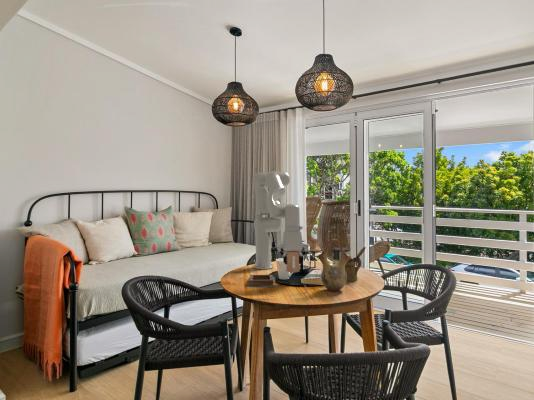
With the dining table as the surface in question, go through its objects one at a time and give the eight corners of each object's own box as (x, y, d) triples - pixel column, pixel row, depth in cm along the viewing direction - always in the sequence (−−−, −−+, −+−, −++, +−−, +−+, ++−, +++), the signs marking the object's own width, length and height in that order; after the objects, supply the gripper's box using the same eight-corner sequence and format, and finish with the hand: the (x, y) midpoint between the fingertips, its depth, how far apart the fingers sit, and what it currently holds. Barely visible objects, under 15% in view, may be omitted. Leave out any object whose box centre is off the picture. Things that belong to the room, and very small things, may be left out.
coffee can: (330, 273, 193) (330, 249, 193) (335, 269, 202) (335, 246, 202) (348, 275, 188) (348, 250, 188) (352, 271, 198) (352, 247, 197)
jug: (285, 269, 173) (285, 250, 173) (298, 269, 173) (298, 250, 173) (287, 273, 163) (286, 253, 163) (300, 273, 163) (300, 253, 163)
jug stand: (248, 280, 180) (248, 272, 180) (274, 279, 180) (274, 272, 180) (246, 291, 160) (246, 283, 160) (275, 290, 160) (275, 282, 160)
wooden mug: (366, 282, 173) (366, 248, 172) (340, 281, 175) (340, 247, 175) (364, 278, 182) (364, 245, 181) (339, 277, 184) (339, 244, 183)
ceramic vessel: (316, 292, 157) (316, 239, 156) (316, 287, 166) (316, 237, 165) (352, 293, 155) (352, 240, 154) (350, 287, 164) (350, 237, 163)
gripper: (308, 228, 173) (308, 262, 173) (275, 228, 173) (275, 262, 173) (310, 229, 166) (310, 265, 166) (275, 230, 165) (276, 265, 166)
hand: (292, 263), depth 170 cm, fingers closed on jug, 6 cm apart
